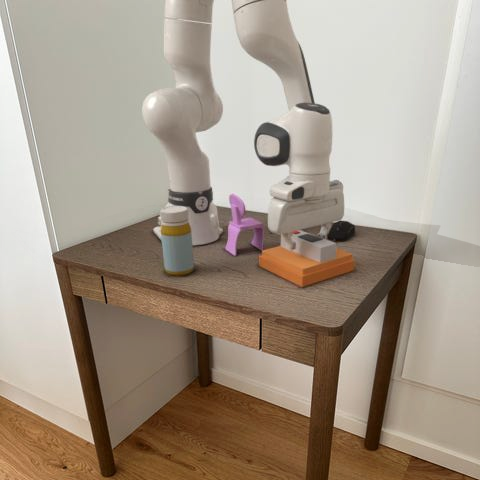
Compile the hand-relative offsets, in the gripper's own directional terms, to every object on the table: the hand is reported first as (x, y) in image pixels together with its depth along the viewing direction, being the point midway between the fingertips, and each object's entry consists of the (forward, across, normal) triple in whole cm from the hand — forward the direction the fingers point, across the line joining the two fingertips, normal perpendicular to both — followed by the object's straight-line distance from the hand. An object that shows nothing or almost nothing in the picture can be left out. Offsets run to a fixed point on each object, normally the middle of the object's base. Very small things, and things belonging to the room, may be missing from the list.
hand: (306, 245), depth 107 cm
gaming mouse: (+6, -23, -12) cm, 27 cm away
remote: (+2, 0, 0) cm, 2 cm away
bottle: (+6, +25, -17) cm, 31 cm away
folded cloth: (+6, 0, 0) cm, 6 cm away
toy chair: (+6, +4, -20) cm, 21 cm away
